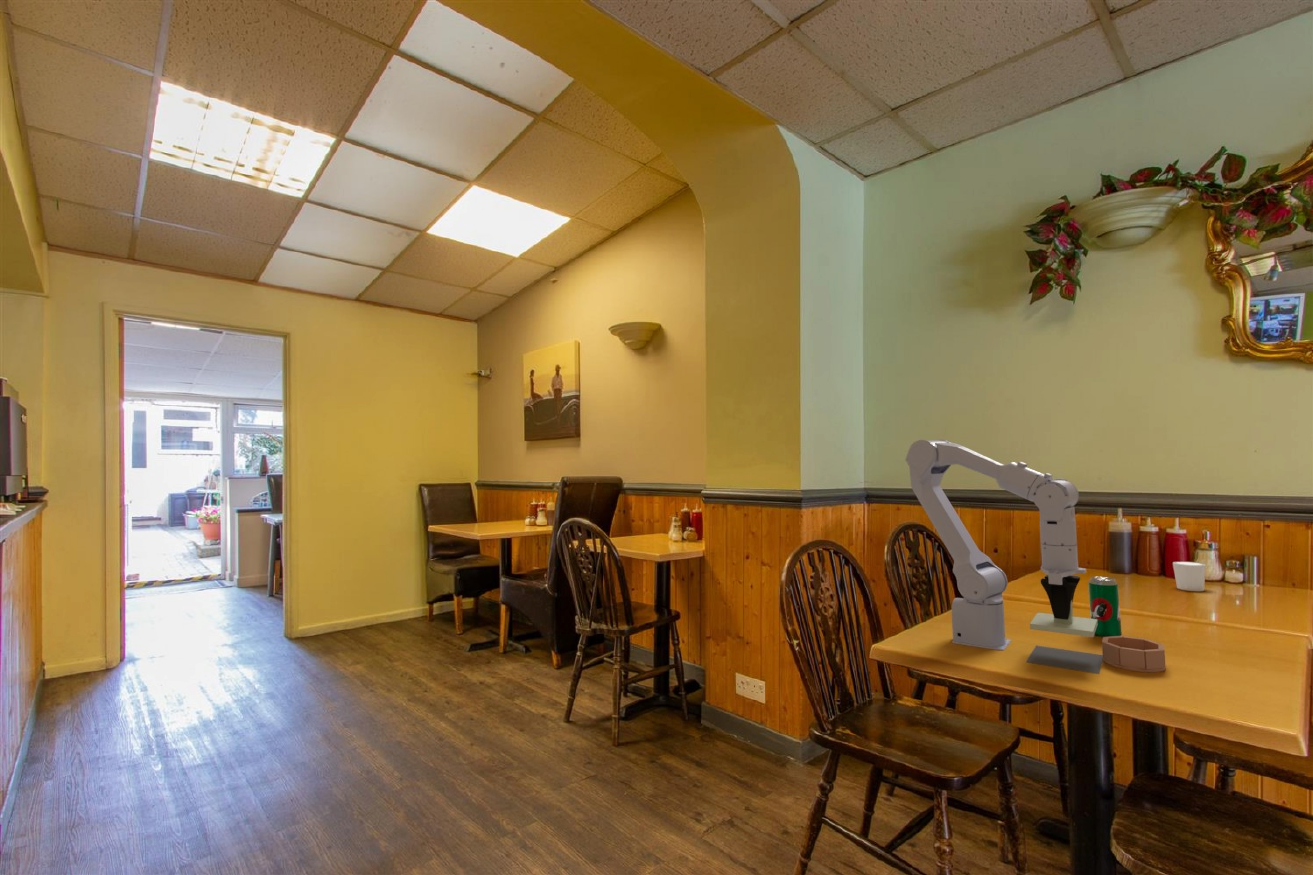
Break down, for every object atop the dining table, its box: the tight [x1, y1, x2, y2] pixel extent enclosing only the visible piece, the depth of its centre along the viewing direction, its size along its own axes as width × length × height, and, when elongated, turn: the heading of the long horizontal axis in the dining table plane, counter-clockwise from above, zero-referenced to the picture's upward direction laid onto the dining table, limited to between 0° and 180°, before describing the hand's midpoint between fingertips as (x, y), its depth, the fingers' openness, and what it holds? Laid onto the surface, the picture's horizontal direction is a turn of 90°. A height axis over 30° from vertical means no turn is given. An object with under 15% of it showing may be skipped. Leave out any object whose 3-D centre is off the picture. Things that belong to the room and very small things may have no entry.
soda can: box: [1087, 576, 1123, 638], centre depth 127 cm, size 5×5×12 cm
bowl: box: [1101, 635, 1167, 673], centre depth 110 cm, size 9×9×4 cm
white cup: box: [1172, 561, 1206, 592], centre depth 166 cm, size 7×7×7 cm
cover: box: [1029, 599, 1098, 638], centre depth 114 cm, size 10×10×5 cm
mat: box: [1025, 645, 1104, 675], centre depth 113 cm, size 11×12×1 cm
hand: (1062, 616), depth 114 cm, fingers closed on cover, 3 cm apart
